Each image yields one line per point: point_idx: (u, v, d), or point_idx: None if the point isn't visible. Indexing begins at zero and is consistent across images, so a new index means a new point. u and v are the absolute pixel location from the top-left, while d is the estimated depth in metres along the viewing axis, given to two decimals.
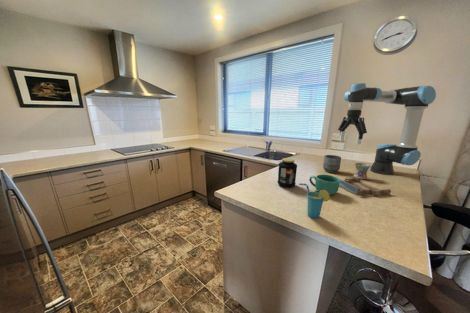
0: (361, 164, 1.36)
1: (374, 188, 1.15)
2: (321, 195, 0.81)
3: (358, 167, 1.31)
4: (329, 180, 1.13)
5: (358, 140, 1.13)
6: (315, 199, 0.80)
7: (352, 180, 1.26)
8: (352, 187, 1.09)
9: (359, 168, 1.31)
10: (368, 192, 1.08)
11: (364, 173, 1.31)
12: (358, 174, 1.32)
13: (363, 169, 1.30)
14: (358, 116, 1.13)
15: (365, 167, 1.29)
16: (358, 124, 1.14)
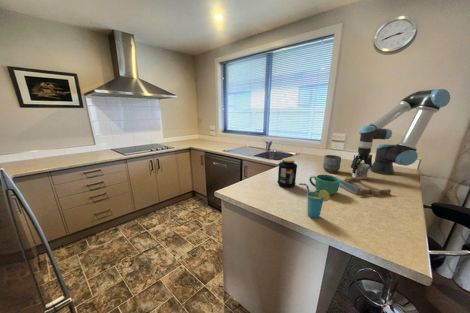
0: (361, 164, 1.36)
1: (374, 188, 1.15)
2: (321, 195, 0.81)
3: (358, 167, 1.31)
4: (329, 180, 1.13)
5: (353, 173, 1.35)
6: (315, 199, 0.80)
7: (352, 180, 1.26)
8: (352, 187, 1.09)
9: (359, 168, 1.31)
10: (368, 192, 1.08)
11: (364, 173, 1.31)
12: (358, 174, 1.32)
13: (363, 169, 1.30)
14: (358, 153, 1.31)
15: (365, 167, 1.29)
16: (358, 160, 1.32)
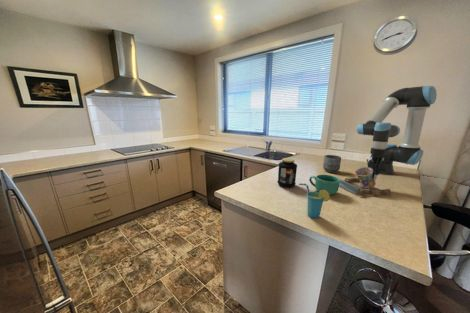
0: (363, 169, 1.16)
1: (374, 188, 1.15)
2: (321, 195, 0.81)
3: (360, 177, 1.12)
4: (329, 180, 1.13)
5: None
6: (315, 199, 0.80)
7: (352, 180, 1.26)
8: (352, 187, 1.09)
9: (362, 178, 1.12)
10: (368, 192, 1.08)
11: (370, 181, 1.11)
12: (364, 183, 1.13)
13: (367, 178, 1.10)
14: (371, 156, 1.12)
15: (368, 175, 1.09)
16: (373, 164, 1.14)
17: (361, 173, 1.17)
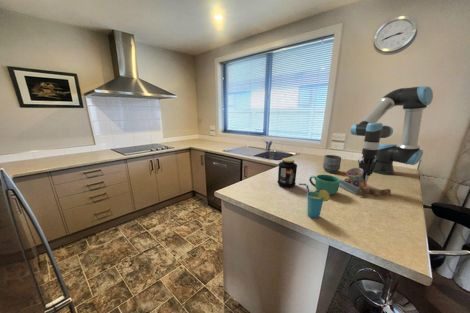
0: (354, 169, 1.15)
1: (374, 188, 1.15)
2: (321, 195, 0.81)
3: (351, 177, 1.11)
4: (329, 180, 1.13)
5: None
6: (315, 199, 0.80)
7: None
8: (352, 187, 1.09)
9: (352, 178, 1.11)
10: (368, 192, 1.08)
11: (360, 181, 1.10)
12: (354, 184, 1.12)
13: (357, 178, 1.09)
14: (362, 156, 1.11)
15: (358, 176, 1.08)
16: (365, 165, 1.13)
17: (352, 174, 1.16)
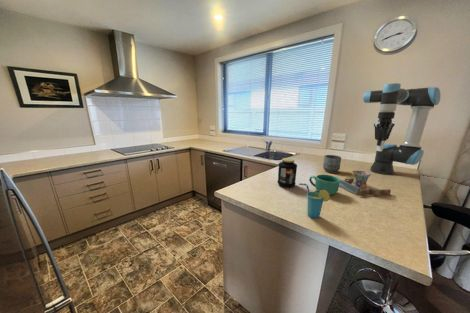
0: (360, 172, 1.16)
1: (374, 188, 1.15)
2: (321, 195, 0.81)
3: (356, 176, 1.11)
4: (329, 180, 1.13)
5: (377, 146, 1.13)
6: (315, 199, 0.80)
7: (352, 180, 1.26)
8: (352, 187, 1.09)
9: (357, 177, 1.11)
10: (368, 192, 1.08)
11: (363, 183, 1.11)
12: (356, 184, 1.12)
13: (362, 178, 1.10)
14: (378, 120, 1.07)
15: (365, 176, 1.09)
16: (381, 129, 1.09)
17: None
